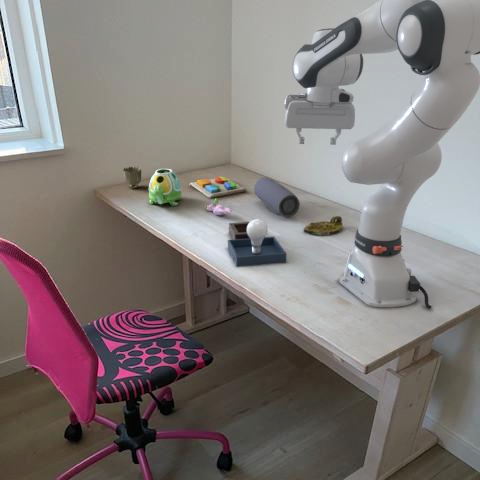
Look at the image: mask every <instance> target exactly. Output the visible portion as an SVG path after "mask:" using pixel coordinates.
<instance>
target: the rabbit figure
mask: <svg viewBox="0 0 480 480" xmlns="http://www.w3.org/2000/svg"><path fill="white" fill-rule="evenodd" d="M218 203H219V199H218V198H217V197H214V201H213V202H212V203H211V204H209V205H208V204H205V209H206V210H207V211H208V212H212V213H213V214H214V215H217V216H222V215H223V216H224V215H228V213H229V214H230V215H231V214H232V209H231V208H229V207H226V206H225V205H223V204H218Z"/></svg>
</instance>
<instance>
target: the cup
mask: <svg viewBox="0 0 480 480" xmlns="http://www.w3.org/2000/svg"><path fill="white" fill-rule="evenodd" d="M122 171H123V177H124V181H125V183H126V184H128V187H129V189H131V190H135V189H138V188H139V184H140V183H141V181H142V168H141V167H139V166H137V167H136V166H127V167H123V169H122Z"/></svg>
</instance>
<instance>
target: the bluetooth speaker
mask: <svg viewBox="0 0 480 480" xmlns="http://www.w3.org/2000/svg"><path fill="white" fill-rule="evenodd" d="M253 192H254V194H255V196H256V197H257V198H258V199H259V200H260V201H261V202H262V203H263V204H264V206H266V207H267V209H269V211H271V212H272V213H274V214H275V215H277V216H281V217H284V218H291V217H293V216H295V215H296V214H297V213H298V211H299V209H300V206H301V205H300V200H299V198H298V197H297V196H296V194H295V193H293V192H292V191H291V190H289V189H288V188H287V187H285V186H284V185H282V184H281V183H280V182H278V181H276V180H274V179H272V178H271V177H268V176H263V177H260V178H259V179H257V180H256V182H255V184H254V186H253Z"/></svg>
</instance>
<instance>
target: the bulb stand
mask: <svg viewBox="0 0 480 480" xmlns="http://www.w3.org/2000/svg"><path fill="white" fill-rule="evenodd" d="M249 222H250V221H241V222H240V221H239V222H229V223H228V235H229V237H230V240H234V239H248V238H249V236H248V234H247V226H248V224H249Z"/></svg>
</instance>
